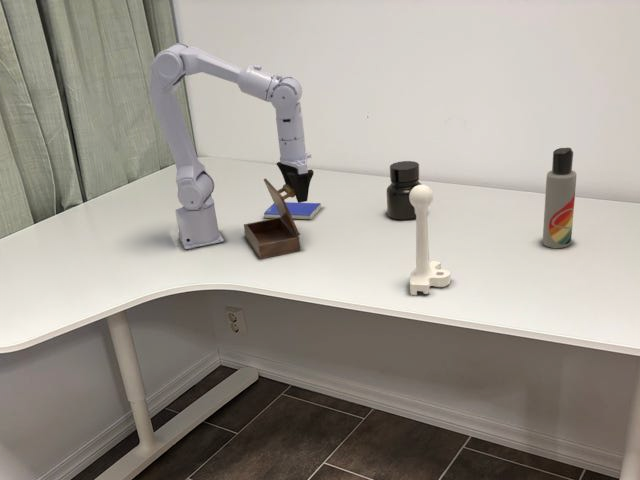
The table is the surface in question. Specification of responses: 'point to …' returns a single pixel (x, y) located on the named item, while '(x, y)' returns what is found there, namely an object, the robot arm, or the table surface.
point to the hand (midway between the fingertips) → (297, 196)
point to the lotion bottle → (559, 200)
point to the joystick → (424, 247)
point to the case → (271, 237)
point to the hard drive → (295, 210)
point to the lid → (283, 203)
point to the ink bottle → (402, 189)
